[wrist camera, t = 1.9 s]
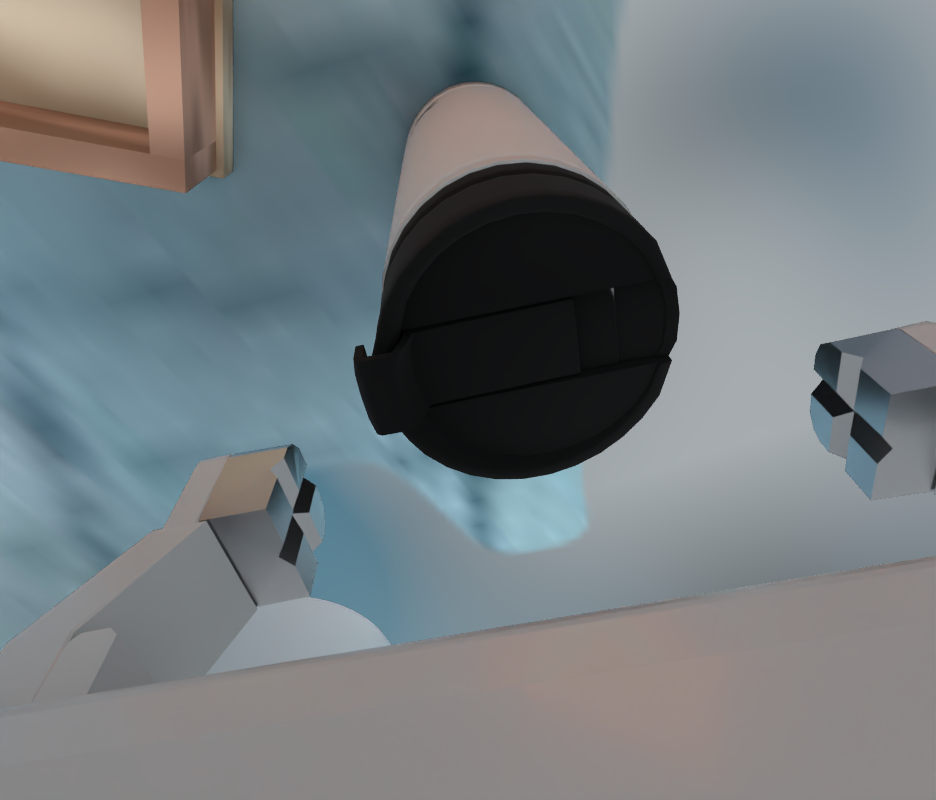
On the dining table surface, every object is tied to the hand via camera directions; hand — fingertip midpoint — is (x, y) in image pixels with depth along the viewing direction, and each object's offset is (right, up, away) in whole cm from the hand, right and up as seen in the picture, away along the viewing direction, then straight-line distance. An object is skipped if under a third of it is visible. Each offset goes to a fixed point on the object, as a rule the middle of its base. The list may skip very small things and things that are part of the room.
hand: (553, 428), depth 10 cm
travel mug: (-1, +12, +19) cm, 22 cm away
